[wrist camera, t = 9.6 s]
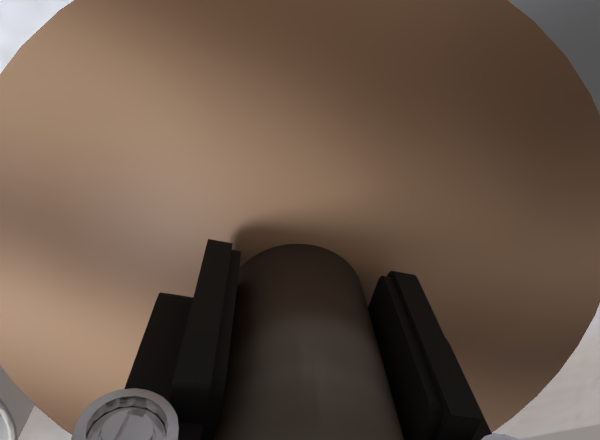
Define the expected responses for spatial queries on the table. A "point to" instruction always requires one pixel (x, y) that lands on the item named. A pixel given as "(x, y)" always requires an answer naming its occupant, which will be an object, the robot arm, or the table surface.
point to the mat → (571, 34)
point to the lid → (296, 199)
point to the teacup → (12, 408)
